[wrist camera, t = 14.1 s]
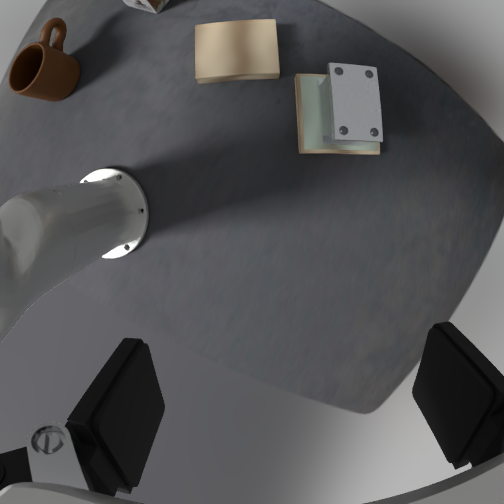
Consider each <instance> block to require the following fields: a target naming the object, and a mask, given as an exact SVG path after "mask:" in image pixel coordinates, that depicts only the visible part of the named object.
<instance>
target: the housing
mask: <svg viewBox="0 0 504 504" xmlns="http://www.w3.org/2000/svg"><path fill="white" fill-rule="evenodd" d="M317 91H318V104H319V119H320V136H321V145H352V146H363V145H364V142H377V143H379V142H383V132H382V117H381V105H380V94H379V85H378V76H377V69H376V67H370V66H361V65H352V64H341V63H329V64H328V65H327V76H326V78H325V79H318V80H317Z"/></svg>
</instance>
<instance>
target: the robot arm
mask: <svg viewBox="0 0 504 504" xmlns="http://www.w3.org/2000/svg"><path fill="white" fill-rule="evenodd" d="M121 175H122V179H121ZM142 208H143V210H144V212H142ZM148 220H149V210H148V204H147V199H146V197H145V194H144V192H143V190H142V188H141V187H140V185H139V183H138V182H137V181H136V180H135V179H134V178H133V177H132V176H130V175H129V174H127V173H126V172H124V171H121V170H119V169H114V168H104V169H98V170H96V171H93V172H91V173H90V174H88V175H87V176H85V177H84V178H83V179H82V180H81V182H80V183H76V184H70V185H63V186H57V187H51V188H45V189H40V190H34V191H29V192H24V193H21V194H18V195H16V196H15V197H13V198H11V199H10V200H8V201H7V202H6V203H5V204H3V205H2V206H1V207H0V343H1V342H2V341H3V340H4V339H5V337H6V336H7V335H8V334H9V332H10V331H11V330H12V328H13V327H14V326H15V324H16V323H17V322H18V320H19V319H20V318H21V316H22V315H23V314H24V313H25V312H26V310H27V309H28V308H29V307H30V306H31V305H32V304H33V303H35V302H36V301H37V300H38V299H39V298H41V297H42V296H43V295H44V294H45V293H47V292H49V291H50V290H51V289H53V288H54V287H56V286H57V285H58V284H60V283H62V282H63V281H65V280H66V279H68V278H69V277H71V276H72V275H74V274H75V273H77V272H79V271H80V270H82V269H83V268H85V267H86V266H88V265H89V264H91V263H93V262H94V261H96V260H97V259H99V258H100V257H103V258H109V259H113V258H119V257H122V256H125V255H127V254H128V253H130V252H131V251H132V250H134V249H135V248H136V247H137V246H138V245H139V243H140V242H141V241H142V239H143V237H144V235H145V233H146V230H147V226H148ZM128 245H129V247H128ZM412 394H413V397H414V399H415V401H416V403H417V405H418V406H419V408H420V410H421V412H422V414H423V416H424V417H425V419H426V421H427V423H428V425H429V426H430V428H431V430H432V432H433V434H434V436H435V438H436V440H437V442H438V443H439V445H440V447H441V449H442V451H443V453H444V455H445V457H446V459H447V461H448V462H449V463H452V464H453V466H454V468H455V469H458V468H460V467H463V466H465V465H467V464H468V463H469V462H470V463H471V464H472V467H471V469H469V470H467V471H464V472H462V473H460V474H458V475H455V476H453V477H451V478H448V479H445V480H443V481H440V482H437V483H435V484H432V485H429V486H426V487H423V488H420V489H417V490H414V491H411V492H407V493H404V494H401V495H397V496H394V497H390V498H386V499H382V500H378V501H373V502H369V503H364V504H504V376H503V375H502V374H501V373H500V371H498V369H497V368H496V367H495V366H494V365H493V364H492V363H491V362H490V361H489V360H488V359H487V358H486V357H485V356H484V355H483V354H482V353H481V352H480V351H479V350H478V349H477V348H476V347H475V346H474V345H473V344H472V343H471V342H470V341H469V340H468V339H467V338H466V337H465V336H464V335H463V334H462V333H461V332H460V331H459V330H458V329H457V328H456V327H455V326H454V325H453V324H452V323H451V322H442V323H436V324H434V325H433V327H432V328H431V329H430V330H429V332H428V336H427V340H426V344H425V348H424V352H423V355H422V359H421V362H420V366H419V369H418V373H417V376H416V379H415V382H414V385H413V390H412ZM164 410H165V404H164V400H163V397H162V393H161V390H160V387H159V383H158V380H157V376H156V373H155V369H154V365H153V361H152V358H151V354H150V350H149V346H148V345H147V344H146V343H144V342H143V341H142V340H141V339H135V338H124V339H123V340H122V342H121V343H120V344H119V346H118V347H117V348H116V350H115V351H114V353H113V354H112V355H111V357H110V358H109V360H108V361H107V362H106V364H105V365H104V367H103V368H102V369H101V371H100V372H99V374H98V375H97V376H96V378H95V379H94V381H93V382H92V384H91V385H90V386H89V388H88V389H87V391H86V392H85V394H84V395H83V397H82V398H81V399H80V401H79V402H78V404H77V405H76V407H75V408H74V410H73V411H72V413H71V414H70V416H69V417H68V419H67V420H68V422H67V423H66V425H65V426H64V425H62V424H60V423H57V422H46V423H42V424H40V425H38V426H36V427H35V428H34V429H33V430H32V431H31V432H30V433H29V435H28V437H27V447H23V448H20V449H16V450H13V451H9V452H6V453H2V454H0V504H143V503H138V502H133V501H129V500H124V499H120V498H116V497H114V496H115V494H116V492H117V491H120V492H124V493H128V494H131V491H132V488H133V487H137V486H138V484H139V481H140V479H141V475H142V473H143V470H144V467H145V464H146V461H147V459H148V456H149V453H150V450H151V447H152V444H153V441H154V439H155V436H156V433H157V430H158V427H159V425H160V422H161V419H162V417H163V413H164Z"/></svg>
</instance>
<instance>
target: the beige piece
mask: <svg viewBox="0 0 504 504" xmlns="http://www.w3.org/2000/svg"><path fill="white" fill-rule="evenodd" d="M195 74H196V80H197V81H198V83H199V84H204V83H213V82H224V81H236V80H253V79H279V74H280V70H279V56H278V44H277V32H276V21H275V19H262V20H241V21H228V22H218V23H209V24H201V25H195Z"/></svg>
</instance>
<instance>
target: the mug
mask: <svg viewBox="0 0 504 504" xmlns="http://www.w3.org/2000/svg"><path fill="white" fill-rule="evenodd" d="M53 28H55V30H56V35H55V38H54V40H53V43H52V47H51V46H49V42H50V37H51V32H52V29H53ZM66 32H67V28H66V24H65V22H64V21H63V20H62V19H61V18H53V19H51V20H49V21H48V22H47V23H46V24H45V25H44V27H43V29H42V31H41V35H40V40H39V42H36V43H32V44H29V45H28V46H26V47H25V48H24V49H23V50H22V51H21V52H20V53H19V54H18V56H17V57H16V59H15V60H14V62H13V64H12V66H11V69H10V73H9V86H10V88H11V90H12V91H13V92H15V93H17V94H20V95H24V96H28V97H33V98H38V99H43V100H48V101H59V100H62V99H64V98H65V97H67V96H68V95H69V94H70V93H71V92H72V91H73V89H74V88H75V86H76V85H77V82H78V80H79V76H80V66H79V63H78V62H77V60H76V59H75V58H73V57H71V56H69V55H67V54H65V53H63V42H64V40H65V37H66Z"/></svg>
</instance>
